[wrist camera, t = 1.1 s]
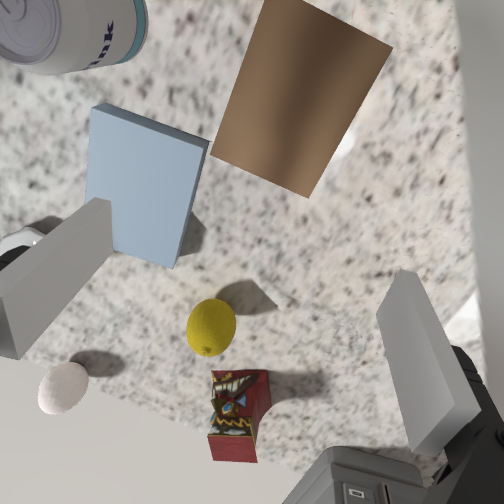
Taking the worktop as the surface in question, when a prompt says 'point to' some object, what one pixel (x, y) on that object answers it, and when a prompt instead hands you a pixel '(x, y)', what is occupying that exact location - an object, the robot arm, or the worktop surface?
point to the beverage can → (71, 33)
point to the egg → (62, 388)
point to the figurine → (20, 239)
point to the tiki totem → (237, 413)
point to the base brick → (144, 181)
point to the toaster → (358, 480)
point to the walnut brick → (296, 94)
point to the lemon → (211, 327)
